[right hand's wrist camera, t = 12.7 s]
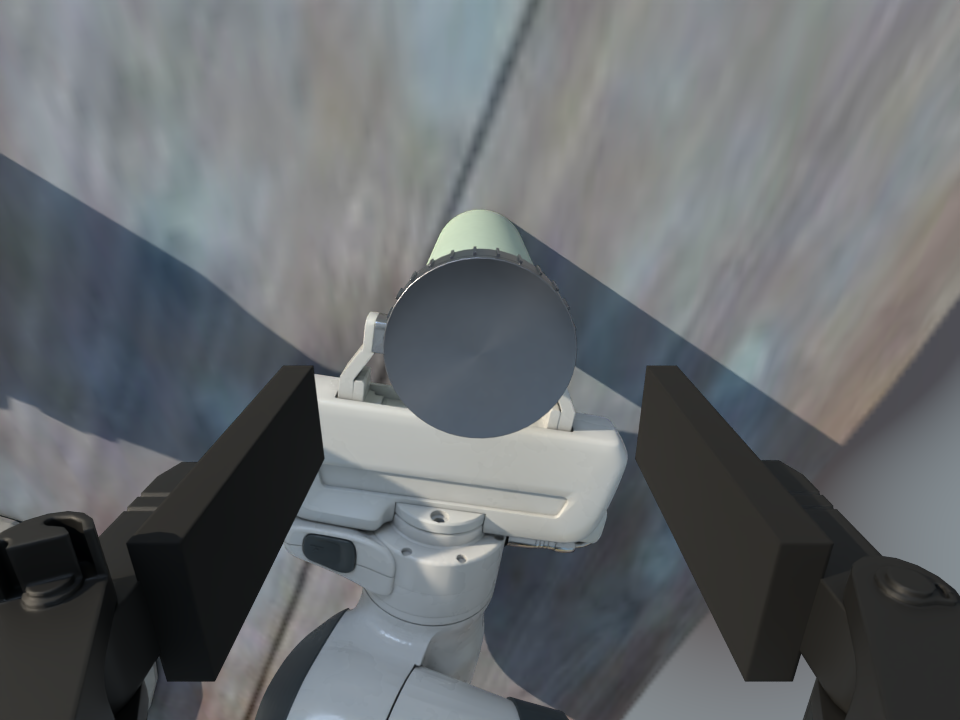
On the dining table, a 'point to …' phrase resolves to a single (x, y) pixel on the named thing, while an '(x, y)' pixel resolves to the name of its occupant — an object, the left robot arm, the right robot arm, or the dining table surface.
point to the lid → (480, 343)
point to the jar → (480, 235)
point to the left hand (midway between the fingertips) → (469, 329)
